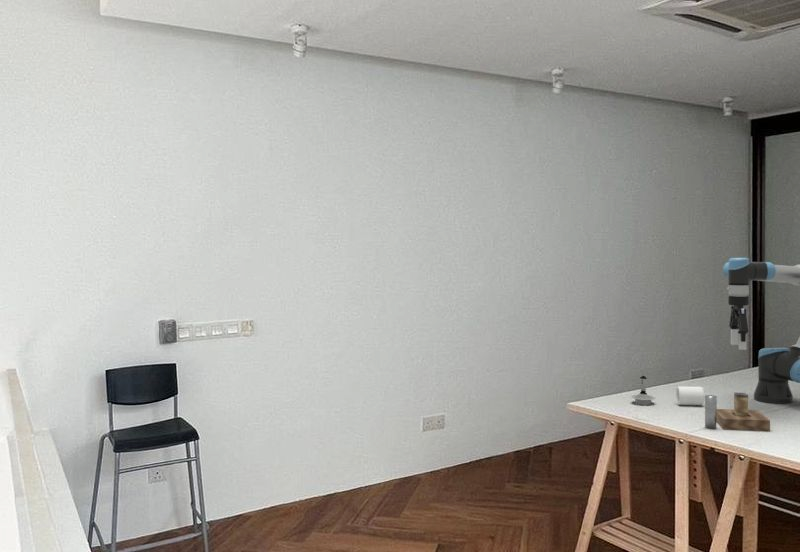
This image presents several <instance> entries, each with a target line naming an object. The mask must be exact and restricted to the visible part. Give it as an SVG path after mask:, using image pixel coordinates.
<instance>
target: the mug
mask: <svg viewBox="0 0 800 552" xmlns="http://www.w3.org/2000/svg"><path fill="white" fill-rule="evenodd" d="M675 391H676V392H675V399H676V404H677V405H678V406H696V405H697V407H698V406H701V407H702V406H704V405H705V391H704V388H703V387H702V386H677V387H676V390H675Z"/></svg>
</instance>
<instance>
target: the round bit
mask: <svg viewBox="0 0 800 552" xmlns="http://www.w3.org/2000/svg"><path fill="white" fill-rule="evenodd" d="M717 409H718V407H717V395H715V394H714V395H712V394H704V428H705V429H708V430H716V429H717V422H716V420H717Z"/></svg>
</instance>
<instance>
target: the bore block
mask: <svg viewBox="0 0 800 552" xmlns="http://www.w3.org/2000/svg"><path fill="white" fill-rule="evenodd" d="M716 424H718V426H719V427H720V428H721V429H722V430H726V431H727V430H731V431H735V430H736V431H753V432H754V431H755V432H771V420H770V419H769V418H768V417H767V416H765V415H764V414H763V413H762V412H761V411H760V410H758V409H757V410H755V409H752V410H751V409H748V416H734V409H730V408H729V409H726V408H725V409H724V408H717V420H716Z"/></svg>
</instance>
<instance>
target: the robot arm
mask: <svg viewBox="0 0 800 552" xmlns="http://www.w3.org/2000/svg"><path fill="white" fill-rule="evenodd" d="M722 273H723V275H724V276H725V278H726V279H728V287H727V288H726V289H727V290H728V297H727V299H728V302H727V303H728V305H729V306H731V307H730V308H731V309H730V317H729V325H728V326H729V328H730V345H731V346H738V350H739V351H742V350H744V351H746V350H748V349H747V336H748V335H747V333H749V325H748V317H747V308H744V306H749V305H750V297H749V296H748V295H749V294H750V281H760V282H772V283H782V284H783V283H785V284H792V285H794V286H796V287H800V264H799V263H798V264H796V265H781V264H773V263H772V262H771V261H770V262H769V261H750V259H749V257H731V258H729V260H728V262H726V263H725V264H724V265H723V267H722ZM757 359H758V367H757V369H758V370H757V371H758V382H757V385H756V387H755V390H754V392H753V399H754V400H755V401H759V402H761V403H770V404H789V403H793V402H794V396H793V392H792V390H791V387H790V383H789V381H790V382H794V383H798V384H800V336H798V339H797V341H796V344H792V345H790V346H789V348H787V347H766V348H765V347H763V348H761V349H760V350H758V356H757Z"/></svg>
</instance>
